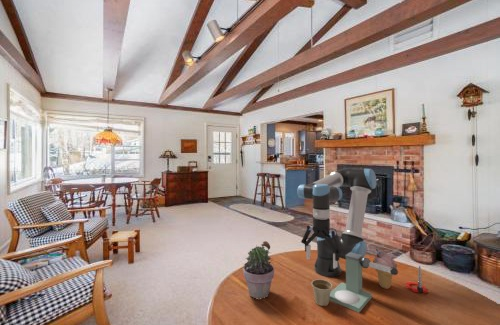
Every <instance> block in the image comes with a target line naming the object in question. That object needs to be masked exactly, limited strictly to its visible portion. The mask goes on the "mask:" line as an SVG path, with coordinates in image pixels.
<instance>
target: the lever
mask: <svg viewBox="0 0 500 325" xmlns="http://www.w3.org/2000/svg"><path fill="white" fill-rule="evenodd" d="M360 265H361V266H362V269H368V268H372V269H374V270H375V269H378V270H382V271H385V272H389V273H391V274H392V276H397V275H398V273H399V271H398V269H397V268H395V267H388V266H384V265H381V264H377V263H373V261H371V260H370V258H368V257H364V258H363V259H362V260H361V261H360Z"/></svg>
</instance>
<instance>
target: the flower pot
mask: <svg viewBox="0 0 500 325" xmlns="http://www.w3.org/2000/svg"><path fill="white" fill-rule="evenodd" d="M311 286H312V288H313V296H314V297H313V298H314V302H315V303H316V305H318V306H321V307H324V306H325V307H327V306H328V305H329V303H330V300H329V298H330V292H331V291H332V290H333V284H332V282H330V281H328V280H327V279H321V278H317V279H314V280H312V281H311Z"/></svg>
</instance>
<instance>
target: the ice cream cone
mask: <svg viewBox="0 0 500 325" xmlns="http://www.w3.org/2000/svg"><path fill="white" fill-rule="evenodd" d="M375 250H376V252H377V253H376V255H375V256H374V259H373V261H372V262H373V263H377V264H381V265H384V266H388V267H395V268H396V269H397V268H398V265H397V262H396V260H395V259H393V257H395V256H394V255H393V254H390V253H387V252H382V251H381V252H380V251H379V249H377V248H376V249H375ZM374 271H376V273H377V278H378V284H379V286H380V287H381V288H383V289H387V290H388V289H390V288H391V287H392V286H391V285H392V281H393V280H392V279H393V275H392V274H391V273H389V272H385V271H382V270H378V269H375V268H374Z"/></svg>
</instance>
